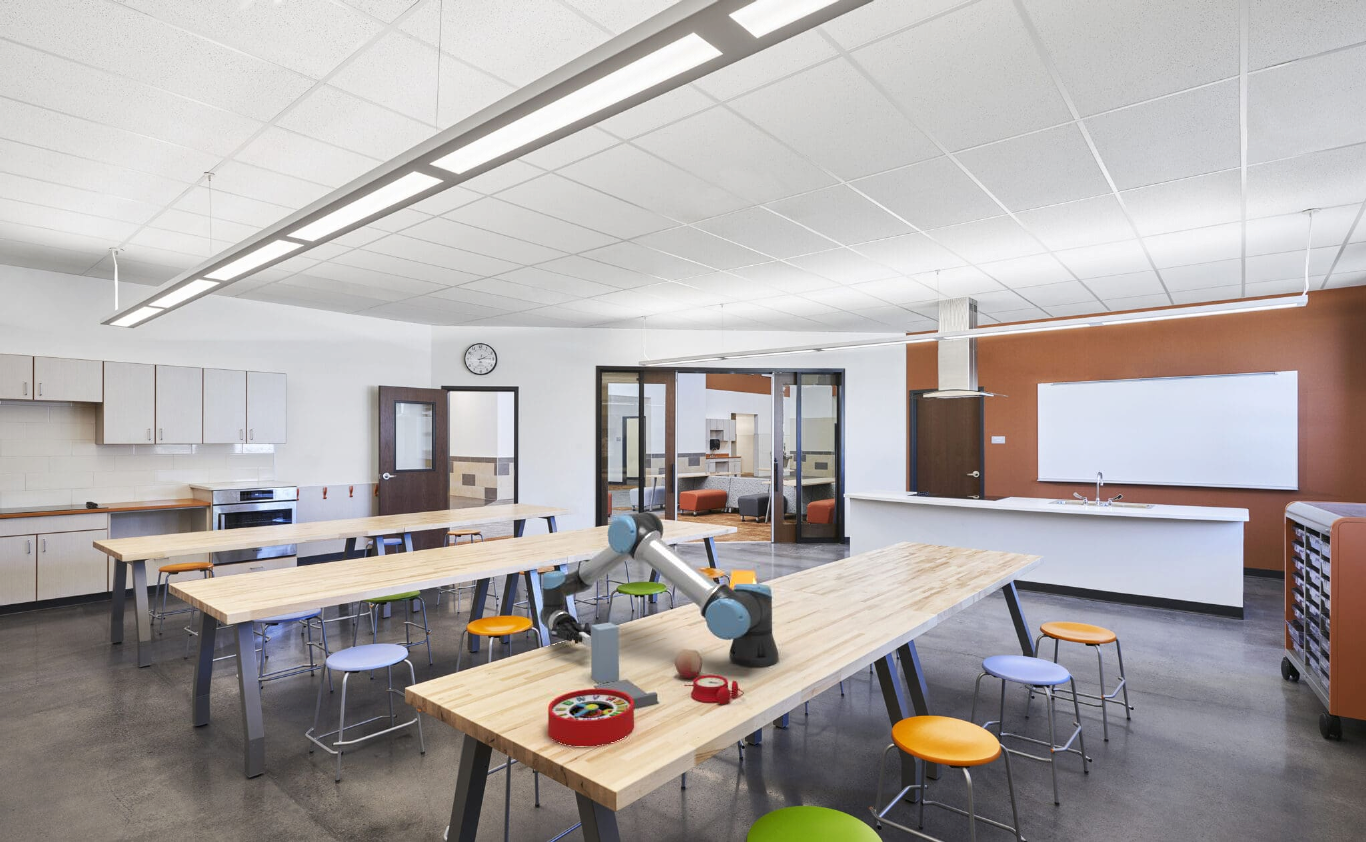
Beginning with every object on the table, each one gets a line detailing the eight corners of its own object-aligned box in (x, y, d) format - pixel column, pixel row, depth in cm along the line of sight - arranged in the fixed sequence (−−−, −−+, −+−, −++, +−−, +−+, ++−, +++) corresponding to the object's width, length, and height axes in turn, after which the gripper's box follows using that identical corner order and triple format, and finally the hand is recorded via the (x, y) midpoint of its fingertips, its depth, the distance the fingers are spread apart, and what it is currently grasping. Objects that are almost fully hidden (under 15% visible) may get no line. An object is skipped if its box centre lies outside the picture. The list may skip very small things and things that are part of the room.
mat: (593, 686, 182) (593, 677, 182) (626, 680, 186) (626, 671, 187) (623, 711, 164) (623, 701, 164) (659, 703, 169) (659, 693, 169)
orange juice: (753, 628, 238) (751, 573, 239) (729, 627, 241) (728, 572, 242) (758, 623, 246) (757, 569, 246) (735, 621, 249) (734, 568, 250)
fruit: (705, 673, 191) (705, 645, 192) (698, 682, 184) (698, 653, 184) (679, 671, 193) (678, 643, 194) (671, 680, 186) (670, 652, 186)
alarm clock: (700, 672, 182) (747, 669, 174) (704, 696, 181) (752, 693, 173) (679, 684, 173) (728, 680, 165) (684, 708, 172) (733, 706, 164)
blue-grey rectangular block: (591, 678, 189) (590, 625, 189) (610, 674, 192) (610, 622, 192) (599, 684, 183) (598, 630, 184) (619, 680, 186) (618, 627, 187)
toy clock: (650, 697, 158) (597, 728, 141) (650, 722, 158) (598, 756, 141) (585, 683, 169) (529, 710, 151) (586, 706, 168) (529, 736, 151)
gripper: (581, 632, 222) (608, 650, 201) (544, 638, 215) (568, 658, 195) (581, 610, 222) (608, 626, 201) (543, 615, 216) (567, 632, 195)
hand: (588, 641), depth 198 cm, fingers closed
